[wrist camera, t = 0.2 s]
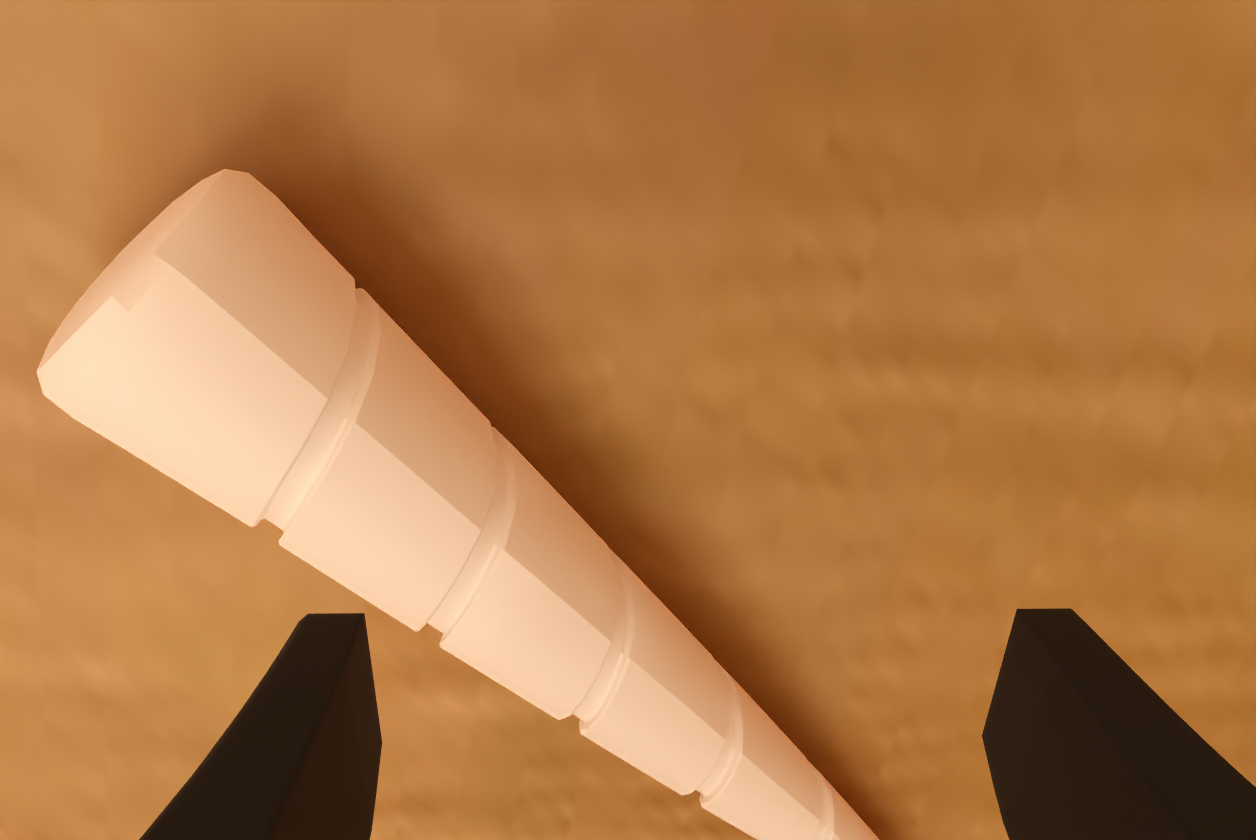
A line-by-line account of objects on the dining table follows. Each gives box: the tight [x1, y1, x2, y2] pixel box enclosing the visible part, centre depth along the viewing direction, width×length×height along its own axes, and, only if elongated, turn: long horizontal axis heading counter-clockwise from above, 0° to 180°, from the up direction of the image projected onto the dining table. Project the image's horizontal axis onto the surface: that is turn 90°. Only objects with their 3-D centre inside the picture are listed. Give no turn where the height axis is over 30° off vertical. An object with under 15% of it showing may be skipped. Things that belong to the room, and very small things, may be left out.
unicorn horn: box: [37, 169, 880, 840], centre depth 23 cm, size 5×24×5 cm, turn 39°
